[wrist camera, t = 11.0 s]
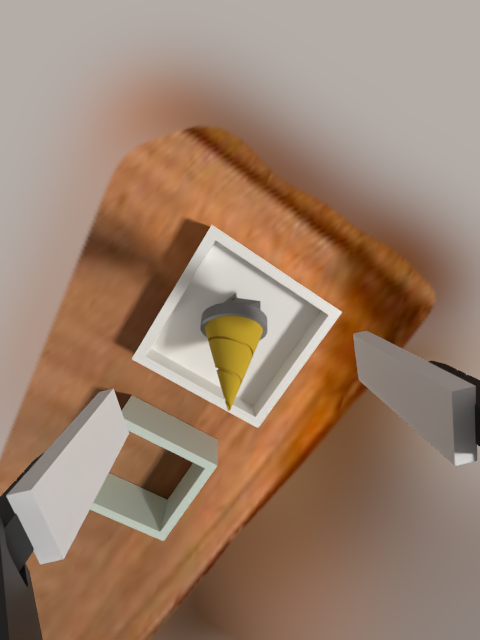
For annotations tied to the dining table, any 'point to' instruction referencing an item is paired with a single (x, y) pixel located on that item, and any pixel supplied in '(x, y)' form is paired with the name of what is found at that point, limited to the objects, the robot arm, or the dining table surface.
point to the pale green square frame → (145, 506)
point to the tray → (216, 287)
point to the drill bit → (233, 340)
